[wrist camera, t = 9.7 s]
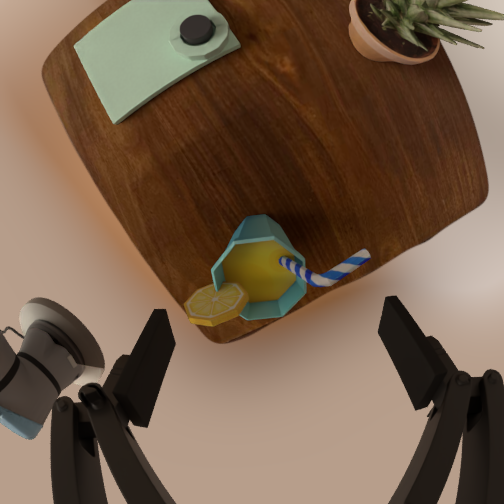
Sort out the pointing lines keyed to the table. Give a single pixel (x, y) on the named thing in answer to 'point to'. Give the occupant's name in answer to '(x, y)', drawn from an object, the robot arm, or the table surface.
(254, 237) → the cup
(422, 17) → the potted plant
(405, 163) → the table surface
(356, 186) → the table surface
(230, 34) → the scale
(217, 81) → the table surface
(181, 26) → the tare button
